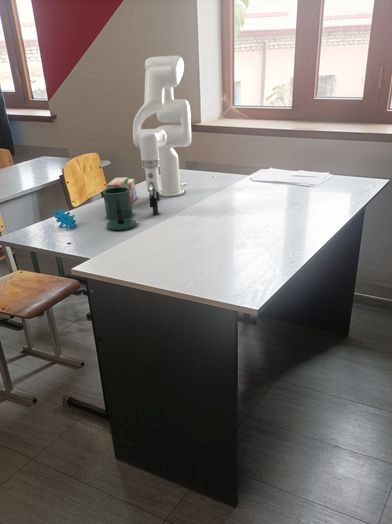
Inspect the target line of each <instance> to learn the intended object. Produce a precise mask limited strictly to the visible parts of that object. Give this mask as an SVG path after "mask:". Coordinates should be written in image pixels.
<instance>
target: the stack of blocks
mask: <svg viewBox="0 0 392 524" xmlns="http://www.w3.org/2000/svg"><path fill="white" fill-rule="evenodd" d="M106 187H107V188H106V189H109V188H114V187H127V188H129V189H130V197H131V204H132V203H133V202H134V201H135V200H137V197H138V195H137V189H136V181H135V178H129V177H126V176H125V177H114V179H111V181H109V183H107V184H106Z"/></svg>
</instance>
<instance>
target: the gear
mask: <svg viewBox="0 0 392 524" xmlns="http://www.w3.org/2000/svg"><path fill="white" fill-rule="evenodd" d="M65 212H66V210H65V209H59V208H58V209H57V210H55V211H54V212H53V214H54V215H53V218H54V219H56V220H55V221H56V223H57V224H58V223H59V225H58V227H59V228H62V227H64V226H65V227H64V228H65V229H72V230H73V229H74V227H76V226H77V224H76V223H77V220H76V219H75V217H76V215H75V214H72V215H71V212H70V211H67V212H66V213H65Z"/></svg>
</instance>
